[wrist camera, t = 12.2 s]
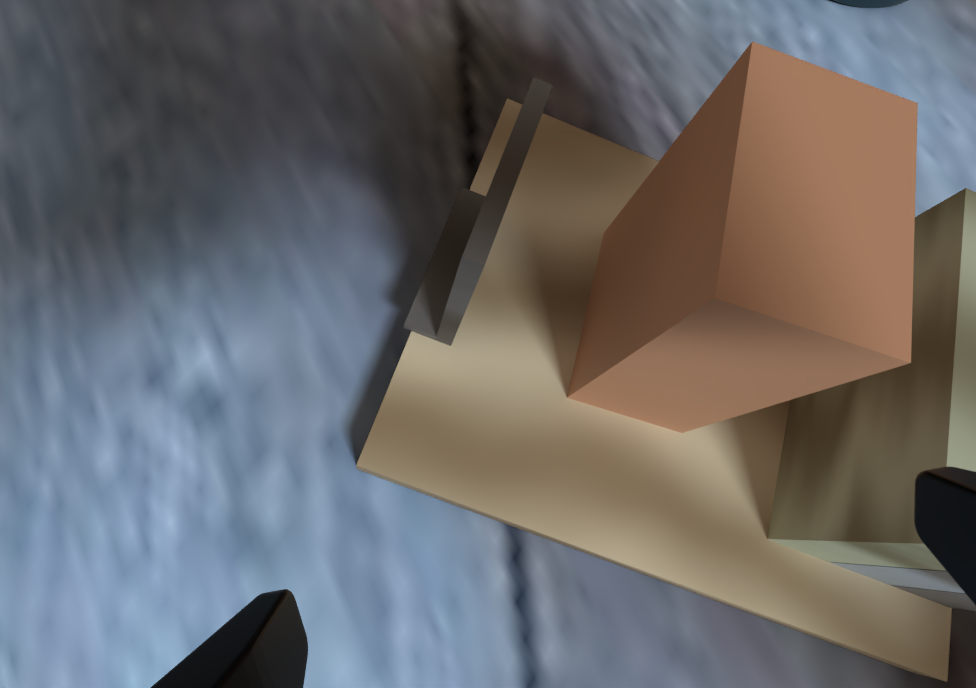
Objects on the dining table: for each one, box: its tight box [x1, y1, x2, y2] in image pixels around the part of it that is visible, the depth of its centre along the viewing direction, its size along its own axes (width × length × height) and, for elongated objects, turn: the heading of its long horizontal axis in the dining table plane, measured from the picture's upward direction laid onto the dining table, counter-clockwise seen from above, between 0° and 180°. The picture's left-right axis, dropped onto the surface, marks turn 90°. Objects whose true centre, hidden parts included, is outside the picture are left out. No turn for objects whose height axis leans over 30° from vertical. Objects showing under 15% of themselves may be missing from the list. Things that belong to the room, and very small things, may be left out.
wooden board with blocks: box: [356, 77, 976, 682], centre depth 20 cm, size 16×22×8 cm
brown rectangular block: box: [567, 42, 918, 433], centre depth 18 cm, size 7×4×10 cm, turn 165°
